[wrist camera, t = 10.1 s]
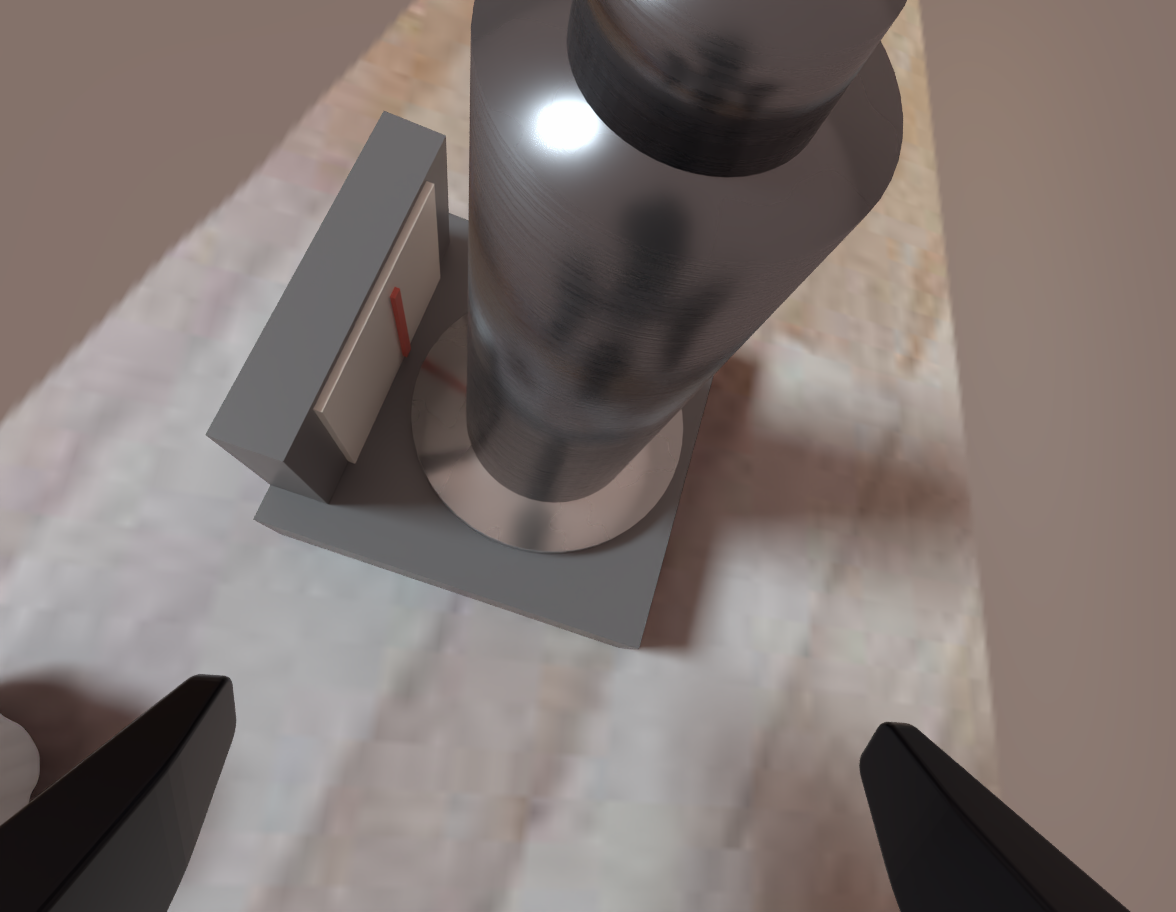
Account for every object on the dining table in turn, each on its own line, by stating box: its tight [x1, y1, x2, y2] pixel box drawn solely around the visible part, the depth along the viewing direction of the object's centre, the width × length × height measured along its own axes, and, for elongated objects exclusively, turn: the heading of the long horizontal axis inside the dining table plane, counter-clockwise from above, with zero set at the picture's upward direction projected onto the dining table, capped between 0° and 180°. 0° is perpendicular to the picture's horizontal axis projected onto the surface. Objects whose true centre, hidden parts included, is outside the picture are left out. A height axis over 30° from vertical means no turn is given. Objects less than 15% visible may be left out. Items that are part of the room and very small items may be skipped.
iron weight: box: [466, 0, 907, 503], centre depth 12 cm, size 5×5×14 cm
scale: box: [206, 111, 713, 649], centre depth 18 cm, size 11×11×7 cm
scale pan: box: [411, 314, 683, 554], centre depth 19 cm, size 8×8×1 cm
